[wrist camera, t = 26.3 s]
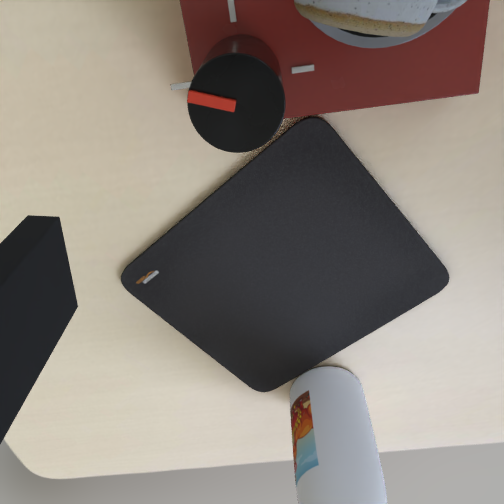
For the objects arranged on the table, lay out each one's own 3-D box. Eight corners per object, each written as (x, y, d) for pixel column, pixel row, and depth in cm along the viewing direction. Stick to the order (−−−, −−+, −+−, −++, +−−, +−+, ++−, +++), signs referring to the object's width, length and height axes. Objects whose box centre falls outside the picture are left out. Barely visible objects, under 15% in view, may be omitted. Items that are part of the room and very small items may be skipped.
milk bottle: (326, 352, 46) (364, 579, 29) (377, 388, 48) (439, 616, 31) (274, 391, 49) (280, 616, 32) (324, 422, 52) (355, 647, 35)
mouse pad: (315, 105, 33) (315, 107, 33) (455, 280, 41) (457, 282, 40) (113, 277, 41) (112, 279, 41) (262, 394, 49) (262, 397, 49)
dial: (289, 44, 28) (297, 66, 22) (270, 123, 31) (272, 163, 25) (209, 25, 28) (193, 42, 21) (197, 107, 30) (180, 144, 24)
